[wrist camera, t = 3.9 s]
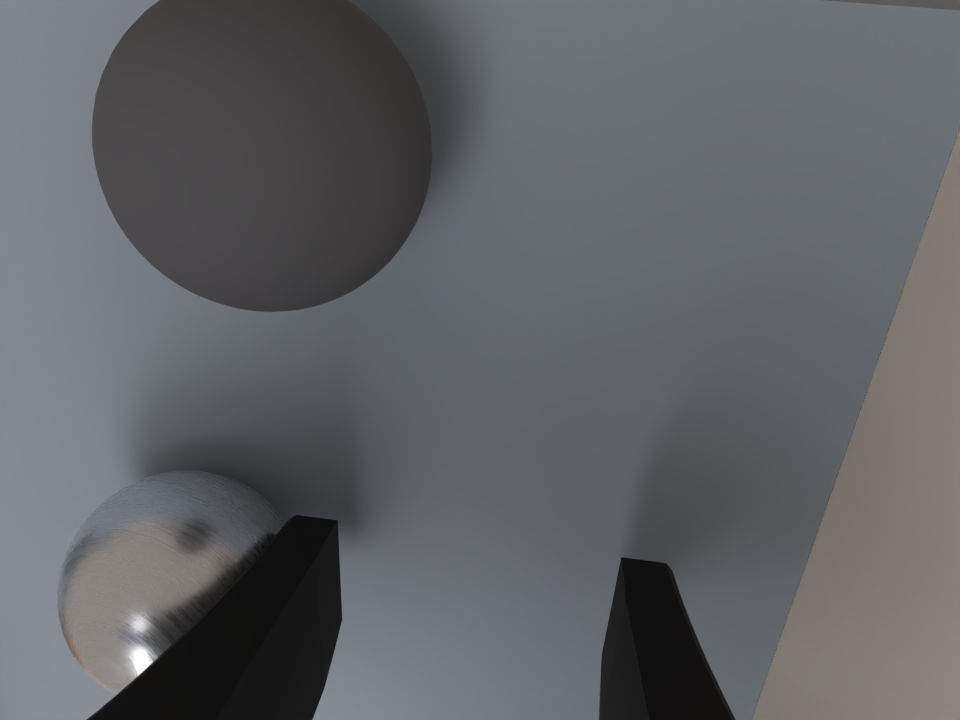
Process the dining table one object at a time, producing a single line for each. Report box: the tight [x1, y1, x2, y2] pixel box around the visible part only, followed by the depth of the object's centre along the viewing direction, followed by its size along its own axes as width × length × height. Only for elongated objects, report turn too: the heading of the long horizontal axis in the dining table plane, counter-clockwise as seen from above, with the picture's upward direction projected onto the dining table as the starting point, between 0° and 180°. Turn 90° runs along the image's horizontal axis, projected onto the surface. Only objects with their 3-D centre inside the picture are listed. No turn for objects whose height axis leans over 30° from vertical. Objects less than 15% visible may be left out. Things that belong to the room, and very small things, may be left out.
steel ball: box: [57, 470, 285, 695], centre depth 12 cm, size 3×3×3 cm
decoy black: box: [92, 0, 432, 312], centre depth 8 cm, size 3×3×3 cm
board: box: [0, 0, 960, 720], centre depth 14 cm, size 16×22×4 cm
